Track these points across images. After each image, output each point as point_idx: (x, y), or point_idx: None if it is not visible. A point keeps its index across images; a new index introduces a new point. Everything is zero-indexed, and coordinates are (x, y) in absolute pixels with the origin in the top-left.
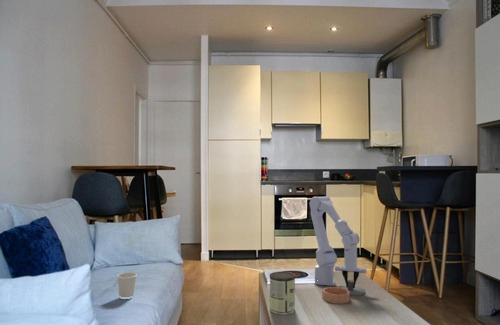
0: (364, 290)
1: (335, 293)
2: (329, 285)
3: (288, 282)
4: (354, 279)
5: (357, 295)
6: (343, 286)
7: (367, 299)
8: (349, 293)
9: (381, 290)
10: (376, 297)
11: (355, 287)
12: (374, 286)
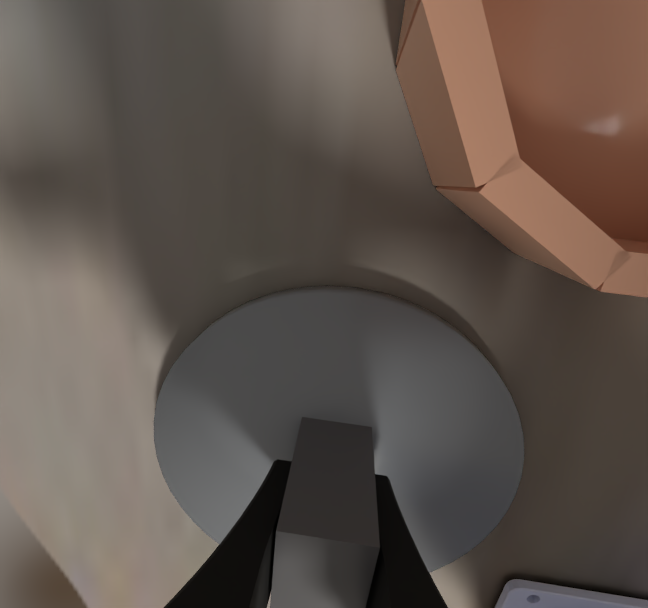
0: (162, 452)
1: (619, 241)
2: (563, 586)
3: None
4: (229, 598)
5: (254, 299)
6: None
7: (113, 138)
8: (365, 301)
9: (14, 502)
10: (15, 263)
11: None
12: (93, 592)
